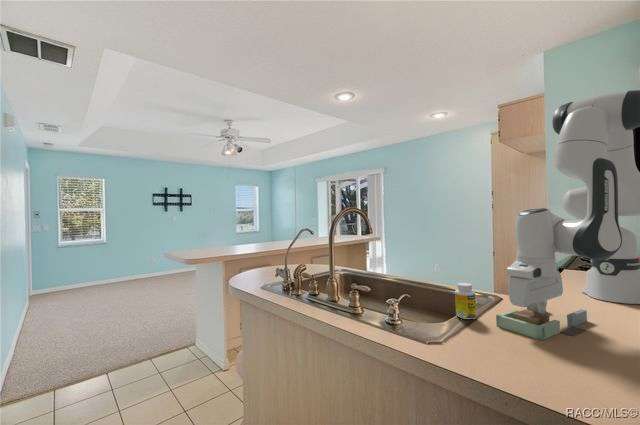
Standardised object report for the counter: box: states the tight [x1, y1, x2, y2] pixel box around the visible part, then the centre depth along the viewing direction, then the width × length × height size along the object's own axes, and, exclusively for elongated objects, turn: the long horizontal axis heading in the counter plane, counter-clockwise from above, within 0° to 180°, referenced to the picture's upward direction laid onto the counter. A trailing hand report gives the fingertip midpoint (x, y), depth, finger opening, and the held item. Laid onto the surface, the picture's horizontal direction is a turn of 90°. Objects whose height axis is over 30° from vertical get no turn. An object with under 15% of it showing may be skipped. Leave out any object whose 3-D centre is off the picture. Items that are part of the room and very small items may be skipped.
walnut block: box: [512, 308, 550, 325], centre depth 80 cm, size 6×6×4 cm
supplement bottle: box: [454, 282, 477, 320], centre depth 90 cm, size 6×6×10 cm
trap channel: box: [495, 306, 588, 341], centre depth 83 cm, size 23×17×3 cm
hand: (538, 316), depth 83 cm, fingers closed
